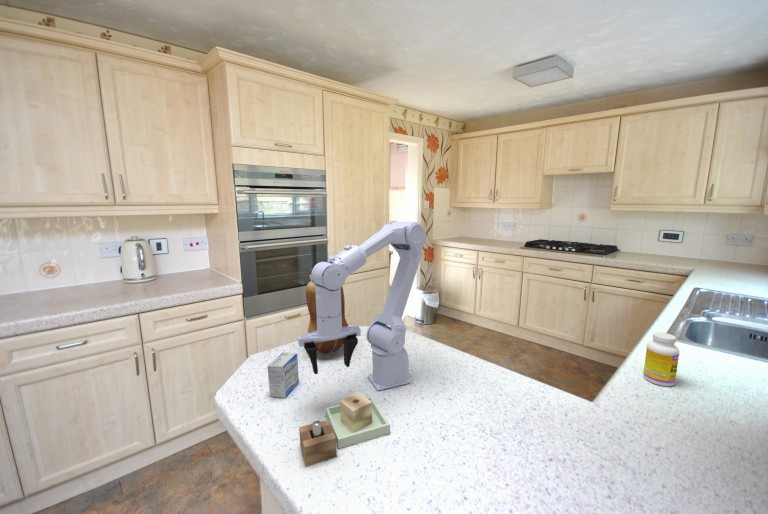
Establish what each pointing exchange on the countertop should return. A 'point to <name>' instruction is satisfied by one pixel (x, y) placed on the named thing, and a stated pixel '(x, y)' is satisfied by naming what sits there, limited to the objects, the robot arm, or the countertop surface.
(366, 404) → the block
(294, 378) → the medicine box
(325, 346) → the butternut squash
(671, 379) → the supplement bottle
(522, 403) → the countertop surface
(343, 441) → the tray
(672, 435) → the countertop surface
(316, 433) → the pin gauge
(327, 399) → the countertop surface
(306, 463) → the slotted wooden block
